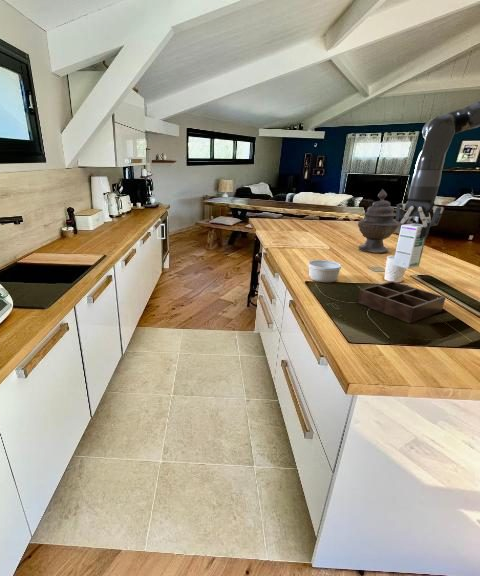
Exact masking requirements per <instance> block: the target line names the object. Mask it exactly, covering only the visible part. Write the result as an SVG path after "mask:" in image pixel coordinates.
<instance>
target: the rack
mask: <svg viewBox="0 0 480 576" xmlns="http://www.w3.org/2000/svg"><path fill="white" fill-rule="evenodd" d="M357 298H358V299H357V304H359V305H362V306H363V307H364V306H365V307H366V308H370V309H372V310H374V311H377V312H380V313H382V314H385V315H388V316H390V317H391V318H394V319H397V320H399V321H403V322H404V323H408V324H412V323H414V322H418V321H421V320H422V319H425V318H427V317H431V316H434V315H435V314H438V313H442V311H443V308H444V305H445V302H446V299H447V297H446V296H444V295H440V294H436V293H433V292H430V291H427V290H424V289H420V288H417V287H414V286H409V285H407V284H403V283H401V282H393V281H387V282H383V283H379V284H376V285H371V286H368V287H364V288H361V289H359V293H358V297H357Z"/></svg>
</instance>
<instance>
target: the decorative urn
mask: <svg viewBox="0 0 480 576" xmlns="http://www.w3.org/2000/svg"><path fill="white" fill-rule="evenodd" d="M387 196H388V194H387V192H386V191H385V190H384V189H383V188H381V190H380V191H379V193H378V194H377V198H378V199H380V200H377V201H373V202H372V206H370V205H369V206H368V207H367V210H366V212H364V213H363V214H362V215H363V216H364V219H360V220H358V222H357V227H358V229H359V232H360V233H361V234H362V236H363V237H364V238H366V240H365V242H364V244H360V245H358V249H359V250H360V251H362V252H367V253H372V254H382V253H386V252H388V251H390V249H389V248H388V247H386V246H384V240H386V239H388V238H390V237H391V236H392V235H393V234H394V233H396V230H397V229H398V227H399V225H400V224H399V222H398V221H396V220H394V218H395V217H396V212H395V208H394V207H393V206H391V202H390V201H388V200H385V198H387Z"/></svg>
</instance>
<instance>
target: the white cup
mask: <svg viewBox="0 0 480 576" xmlns="http://www.w3.org/2000/svg"><path fill="white" fill-rule="evenodd" d="M394 257H395V254H394V255H387V256H386V262H385V268H384V276H383V279H384V281H387V282H390V281H393V282H397V283H401V282H403V279H404V277H405V274H406V271H407V268H403V267H400V266H396V265H394V264H393V262H394Z"/></svg>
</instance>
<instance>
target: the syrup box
mask: <svg viewBox="0 0 480 576" xmlns="http://www.w3.org/2000/svg"><path fill="white" fill-rule="evenodd" d="M400 226H401V229H400V228H399V230H400V233H399V235H398V239H397V243H396V249H395V253H394V255H395V257H394V262H393V264H394V265H396V266H400V267H403V268H406V270H407V269H408V270H409V269H412V268H418V267H419V266H420V263H421V259H422V256H423V255H422V254H423V251H424V247H425V244H426V243H425V242H426V238H427V237H425V238H420V234H421V230H422V227H423V223H407V224H406V225H401V224H400Z"/></svg>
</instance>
